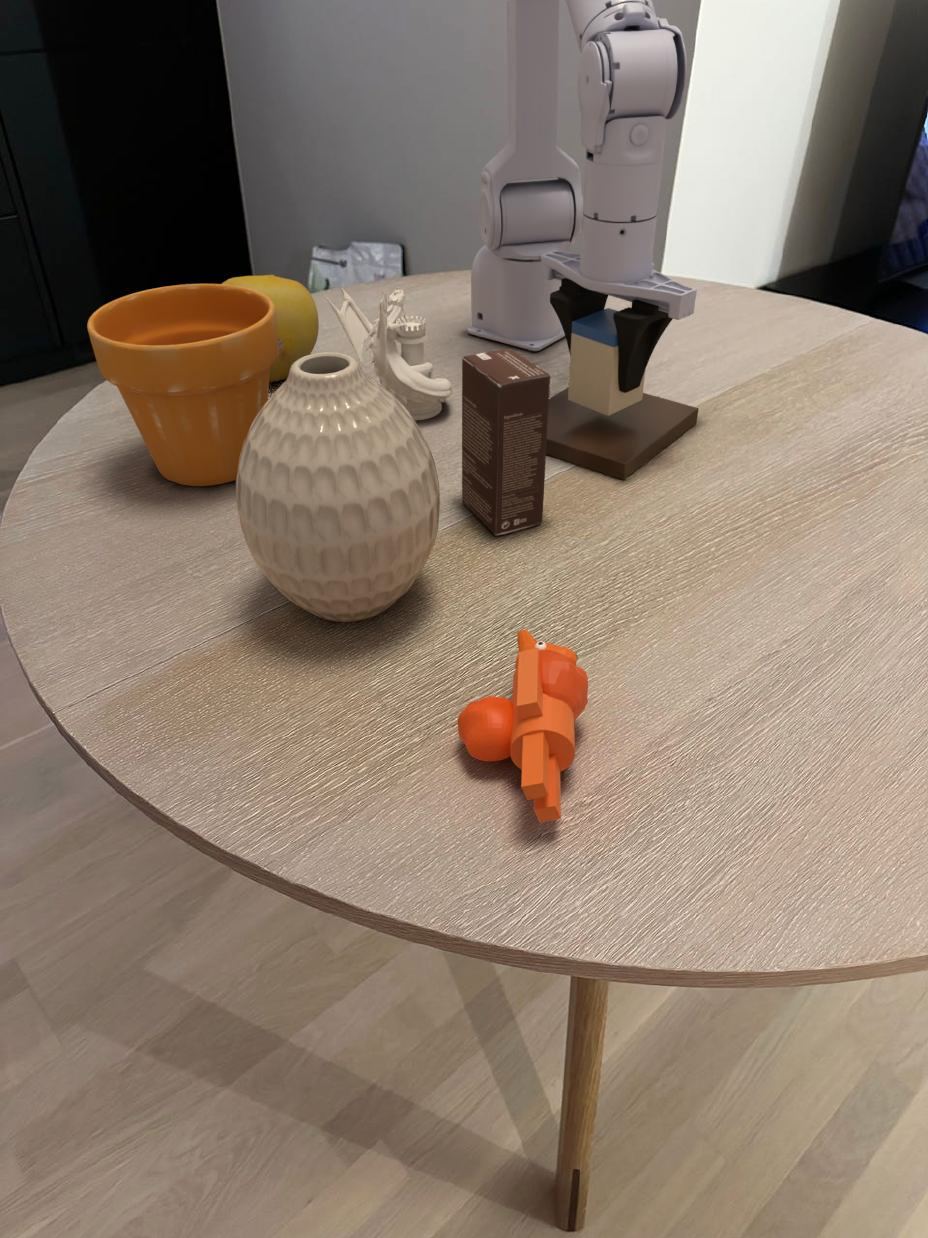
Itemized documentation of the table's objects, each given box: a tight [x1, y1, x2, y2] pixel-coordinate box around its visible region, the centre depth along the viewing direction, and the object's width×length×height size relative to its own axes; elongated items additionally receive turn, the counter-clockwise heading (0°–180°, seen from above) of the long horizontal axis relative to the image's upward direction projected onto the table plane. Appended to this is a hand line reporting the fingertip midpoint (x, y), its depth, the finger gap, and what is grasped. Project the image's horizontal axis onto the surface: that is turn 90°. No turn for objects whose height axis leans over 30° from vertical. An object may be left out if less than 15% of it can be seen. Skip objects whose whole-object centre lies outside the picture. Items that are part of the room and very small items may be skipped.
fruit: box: [221, 274, 320, 383], centre depth 92 cm, size 10×11×10 cm
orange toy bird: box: [457, 629, 589, 823], centre depth 51 cm, size 5×8×12 cm
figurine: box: [325, 286, 453, 421], centre depth 84 cm, size 11×8×12 cm
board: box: [546, 386, 699, 481], centre depth 83 cm, size 12×13×2 cm
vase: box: [235, 351, 441, 623], centre depth 59 cm, size 13×13×17 cm
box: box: [461, 348, 551, 536], centre depth 69 cm, size 6×4×12 cm
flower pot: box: [86, 283, 279, 487], centre depth 76 cm, size 14×14×13 cm
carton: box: [568, 307, 646, 416], centre depth 79 cm, size 5×5×7 cm
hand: (606, 379), depth 80 cm, fingers closed on carton, 4 cm apart
